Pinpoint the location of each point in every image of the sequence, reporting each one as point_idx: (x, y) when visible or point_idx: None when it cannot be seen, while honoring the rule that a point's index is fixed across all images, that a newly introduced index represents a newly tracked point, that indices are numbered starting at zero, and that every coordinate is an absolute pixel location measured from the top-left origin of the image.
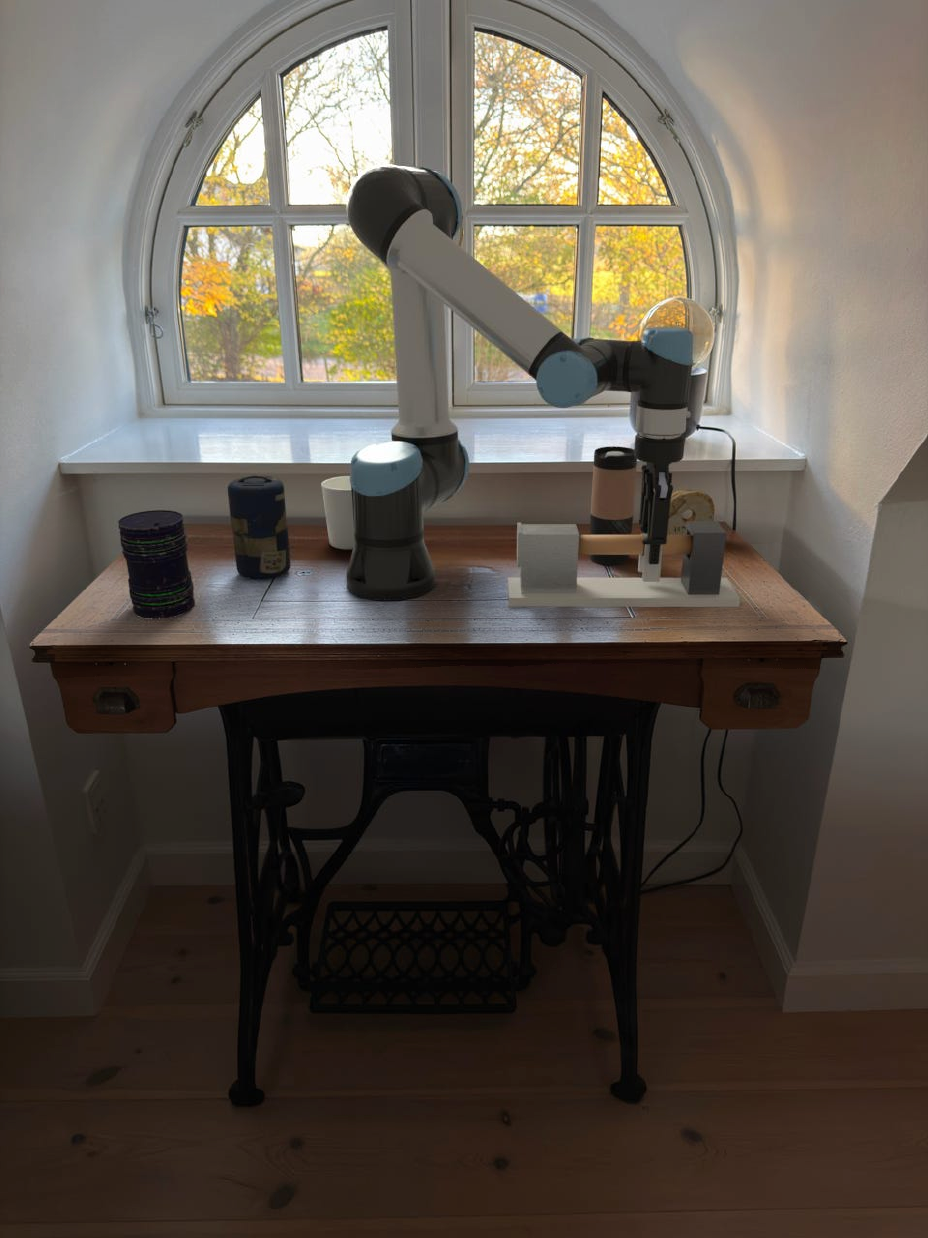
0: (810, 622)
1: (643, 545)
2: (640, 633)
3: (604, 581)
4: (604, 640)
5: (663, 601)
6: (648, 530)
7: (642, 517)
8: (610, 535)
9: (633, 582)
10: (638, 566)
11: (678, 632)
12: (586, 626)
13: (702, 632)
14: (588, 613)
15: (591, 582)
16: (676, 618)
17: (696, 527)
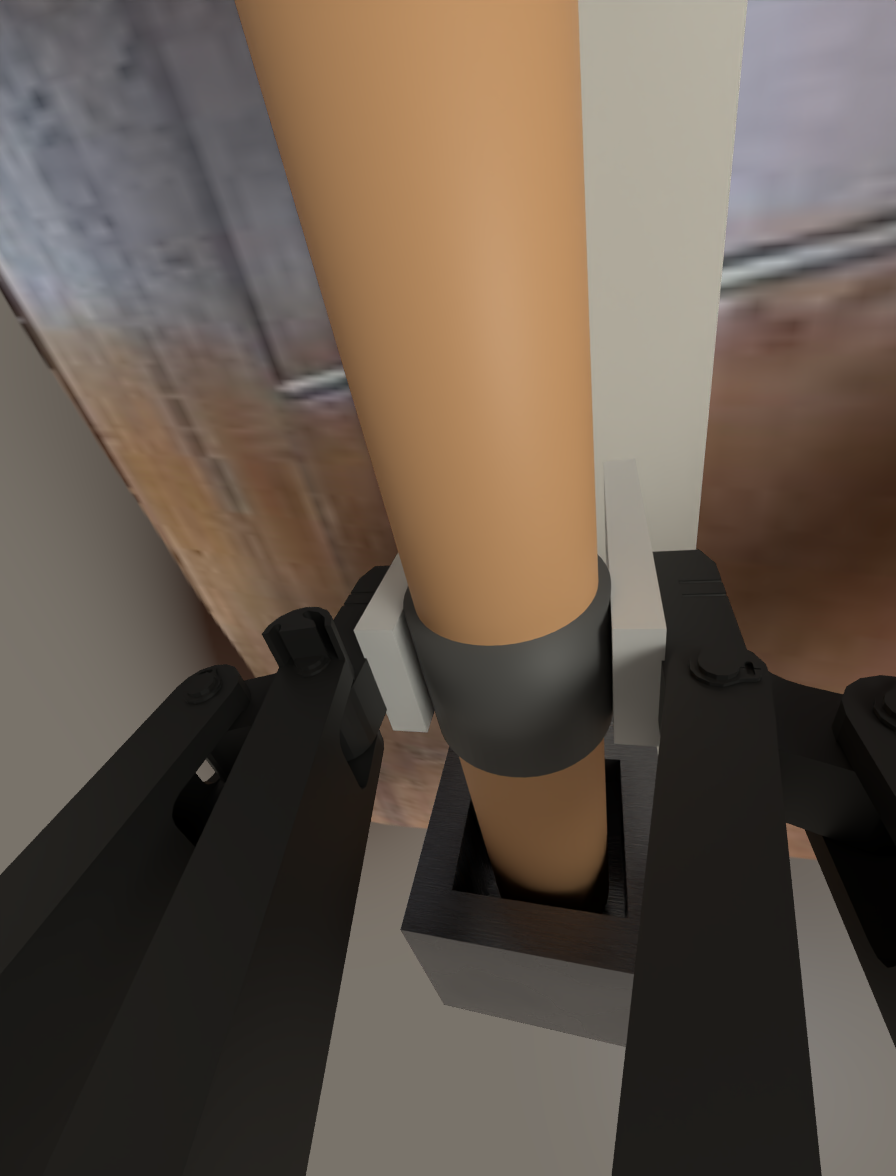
0: (417, 817)
1: (411, 598)
2: (154, 420)
3: (641, 184)
4: (7, 261)
5: None
6: (267, 744)
7: (737, 801)
8: (393, 231)
9: (621, 408)
10: (626, 472)
11: (229, 548)
12: (77, 131)
13: (262, 611)
14: (235, 115)
15: (617, 47)
16: (337, 556)
17: (521, 967)
